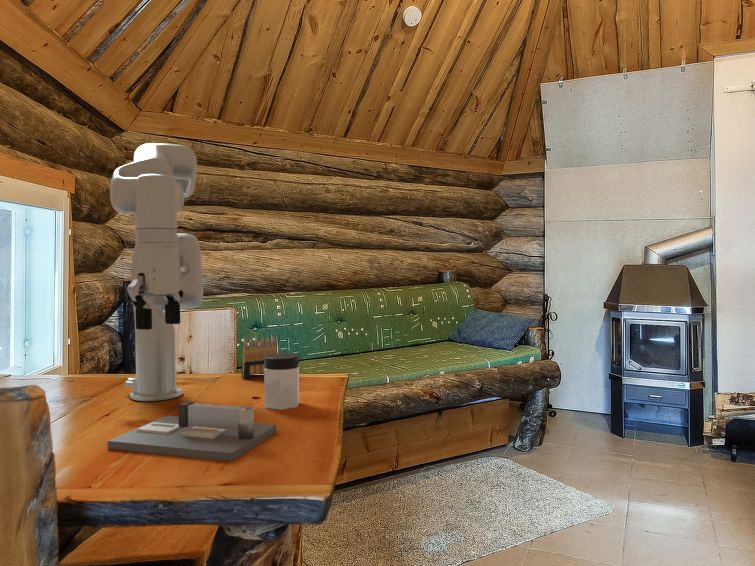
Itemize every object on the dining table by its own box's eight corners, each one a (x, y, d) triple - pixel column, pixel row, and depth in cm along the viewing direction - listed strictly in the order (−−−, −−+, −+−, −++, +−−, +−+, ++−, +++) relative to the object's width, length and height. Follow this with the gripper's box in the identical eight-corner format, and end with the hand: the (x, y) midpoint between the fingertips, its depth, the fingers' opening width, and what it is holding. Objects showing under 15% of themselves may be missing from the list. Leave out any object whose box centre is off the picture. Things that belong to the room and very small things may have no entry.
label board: (107, 448, 113) (107, 437, 112) (166, 422, 130) (166, 412, 130) (231, 461, 105) (231, 449, 105) (276, 432, 123) (276, 421, 123)
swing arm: (178, 432, 117) (178, 404, 117) (187, 427, 120) (186, 400, 119) (249, 438, 113) (249, 410, 112) (256, 433, 116) (256, 406, 115)
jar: (271, 411, 138) (271, 360, 138) (258, 404, 145) (257, 355, 144) (306, 406, 143) (306, 356, 143) (291, 399, 150) (291, 351, 149)
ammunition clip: (243, 380, 173) (243, 338, 172) (241, 378, 174) (241, 337, 174) (278, 375, 179) (278, 335, 178) (275, 374, 180) (275, 335, 180)
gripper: (167, 239, 127) (169, 321, 128) (110, 237, 110) (112, 331, 111) (198, 239, 125) (200, 322, 126) (145, 237, 108) (147, 332, 109)
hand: (158, 326), depth 119 cm, fingers open, 8 cm apart
